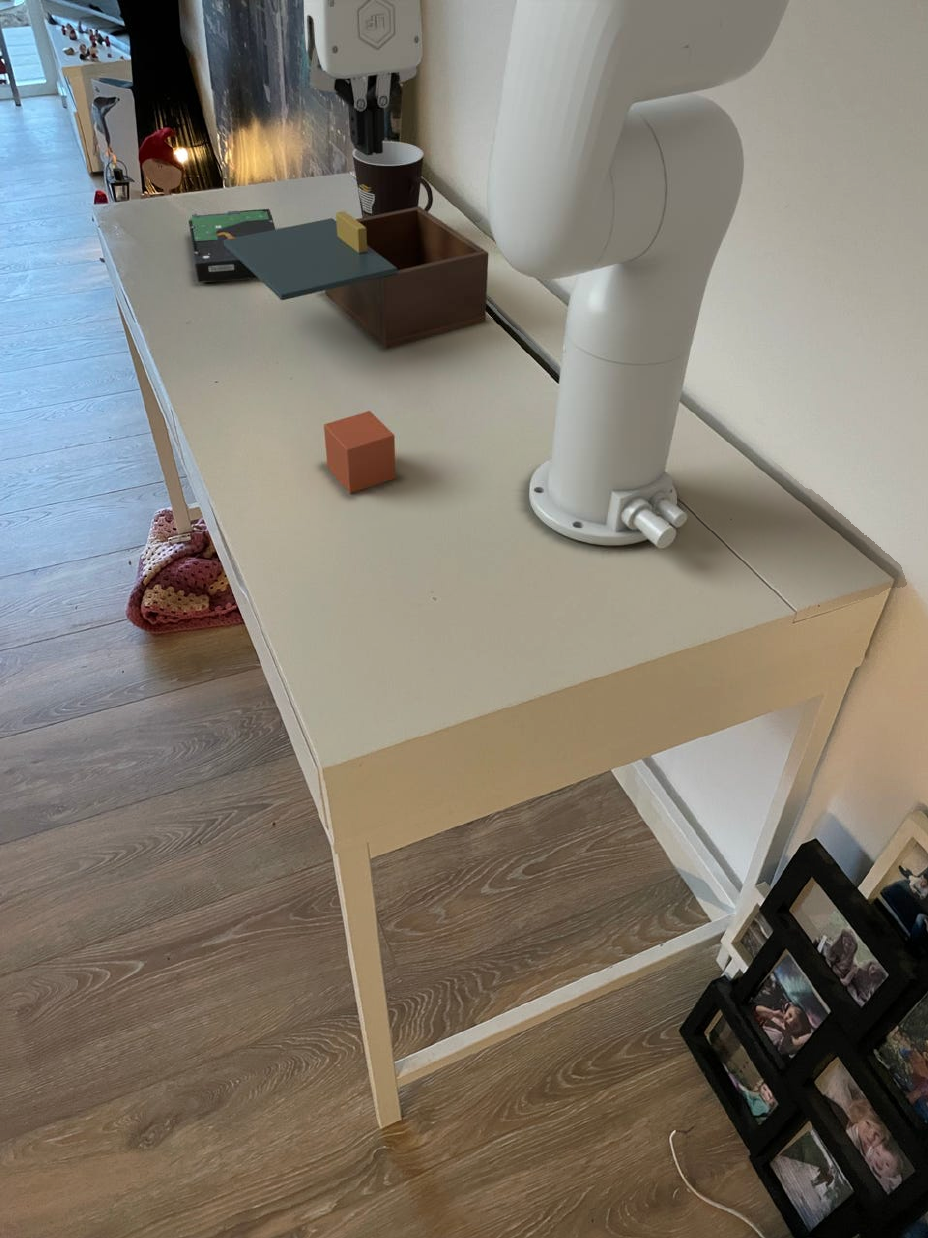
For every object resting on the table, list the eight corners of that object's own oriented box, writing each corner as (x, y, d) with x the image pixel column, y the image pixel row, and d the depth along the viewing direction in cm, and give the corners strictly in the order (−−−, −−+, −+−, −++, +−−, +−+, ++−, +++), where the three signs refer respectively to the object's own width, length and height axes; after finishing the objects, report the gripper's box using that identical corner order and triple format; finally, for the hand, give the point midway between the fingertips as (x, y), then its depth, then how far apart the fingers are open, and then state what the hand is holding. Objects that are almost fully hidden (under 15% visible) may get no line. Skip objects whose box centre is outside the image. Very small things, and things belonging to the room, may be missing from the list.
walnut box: (485, 321, 105) (488, 252, 99) (386, 348, 100) (383, 277, 94) (419, 272, 113) (419, 205, 108) (325, 294, 108) (319, 226, 103)
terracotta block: (396, 478, 83) (394, 435, 80) (350, 493, 81) (347, 449, 78) (371, 453, 86) (369, 410, 82) (327, 467, 84) (323, 424, 81)
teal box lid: (397, 273, 95) (396, 242, 93) (281, 300, 90) (278, 268, 88) (332, 223, 104) (330, 194, 101) (224, 245, 98) (219, 215, 96)
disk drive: (288, 278, 111) (271, 228, 121) (285, 255, 109) (269, 206, 119) (198, 286, 109) (189, 234, 119) (194, 263, 107) (185, 212, 117)
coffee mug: (349, 225, 123) (345, 143, 116) (413, 219, 125) (413, 139, 118) (370, 262, 115) (367, 177, 108) (438, 255, 117) (439, 171, 110)
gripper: (294, -70, 75) (315, 174, 87) (454, -80, 81) (452, 149, 93) (256, -82, 79) (282, 151, 92) (411, -91, 85) (415, 129, 98)
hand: (368, 150), depth 92 cm, fingers closed
